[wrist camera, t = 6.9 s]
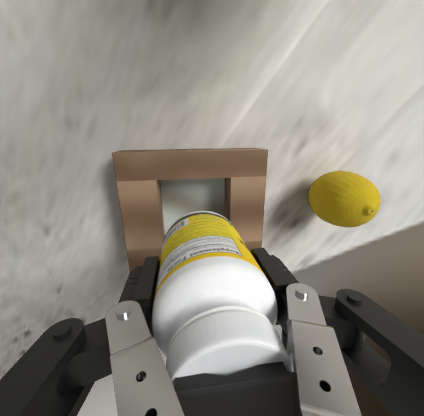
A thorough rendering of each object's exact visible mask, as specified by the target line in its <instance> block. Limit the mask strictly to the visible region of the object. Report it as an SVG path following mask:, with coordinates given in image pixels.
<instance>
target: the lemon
mask: <svg viewBox="0 0 424 416" xmlns="http://www.w3.org/2000/svg"><path fill="white" fill-rule="evenodd" d="M308 199H309V204H310V206H311V208H312V210H313V212H314V213H315V214H316V215H317V216H318V217H320V218H321V219H322V220H324V221H326V222H328V223H330V224H333V225H336V226H342V227H357V226H360V225H363V224H365V223H367V222H368V221H370V220H371V219H372V218H373V217H374V216H375V215H376V214H377V212H378V210H379V207H380V195H379V192H378V190H377V188H376V187H375V185H374V184H373V183H371V182H370V181H369V180H367V179H366V178H364V177H362V176H360V175H358V174H355V173H352V172H346V171H335V172H330V173H326V174H324V175H322V176H321V177H319V178H318V179H317V180H316V181H315V182H314V183H313V184H312V186H311V188H310V191H309V197H308Z"/></svg>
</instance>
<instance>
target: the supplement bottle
mask: <svg viewBox="0 0 424 416" xmlns="http://www.w3.org/2000/svg"><path fill="white" fill-rule="evenodd" d="M276 320H277V301H276V297H275V294H274V291H273V289H272V287H271V285H270V283H269V281H268V279H267V278H266V276H265V275H264V273H263V271H262V270H261V268H260V267H259V265H258V264H257V262H256V260H255V259H254V257H253V256H252V254H251V253H250V251H249V249H248V248H247V246H246V245H245V243H244V242H243V240H242V238H241V237H240V235H239V234H238V232H237V230H236V229H235V228H234V226H233V225H232V224H231V223H230V221H228V220H227V219H226V218H225V217H223V216H222V215H220V214H217V213H214V212H210V211H195V212H191V213H188V214H185V215H183V216H182V217H180V218H179V219H177V220H176V221H175V222H174V223H173V224H172V225H171V226H170V228H169V229H168V231H167V233H166V235H165V238H164V242H163V246H162V253H161V260H160V266H159V272H158V278H157V284H156V290H155V296H154V302H153V312H152V330H153V334H154V337H155V340H156V342H157V345H158V347H159V348H160V350H161V351H162V352H163V353H164V355H166V357H167V360H166V368H167V371H168V374H169V376H170V379H171V381H172V384H173V387H174V388H175V377H177V378H178V377H183V376H189V375H195V374H201V373H208V374H216V375H224V376H234V375H237V374H239V373H241V372H243V371H245V370H247V369H249V368H252V367H254V366H256V365H260V364H267V363H274V362H281V361H283V363H284V365H285V367H286V369H287V371H291V372H293V365H292V362H291V360H290V358H289V356H288V353H287V351H286V349H285V347H284V345H283V343H282V341H281V339H280V336H279V334H278V332H277V331H276V329H275V325H276Z"/></svg>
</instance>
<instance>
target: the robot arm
mask: <svg viewBox="0 0 424 416" xmlns="http://www.w3.org/2000/svg"><path fill="white" fill-rule="evenodd" d="M250 253H251V254H252V256H253V257H254V259H255V260H256V262H257V264H258V265H259V267H260V268H261V270H262V271H263V273H264V275H265V276H266V278H267V279H268V281H269V283H270V285H271V287H272V289H273V291H274V294H275V297H276V301H277V320H276V325H279V324H280V325H281V327H282V335H281V337H282V343H283V345H284V347H285V349H286V351H287V353H288V356H289V358H290V360H291V362H292V365H293V372H291V371H287V369H286V367H285V365H284V363H283V361H281V362H274V363H267V364H260V365H256V366H254V367H252V368H249V369H247V370H245V371H243V372H241V373H239V374H237V375H234V376H224V375H216V374H208V373H201V374H195V375H189V376H183V377H178V378H177V377H175V388H174V387H173V384H172V381H171V379H170V376H169V374H168V371H167V368H166V366H165V363H164V361H163V358H162V355H161V353H160V350H159V347H158V345H157V342H156V340H155V337H154V334H153V330H152V312H153V302H154V296H155V290H156V284H157V278H158V272H159V266H160V259H159V256H152V257H145V260H144V264H143V266H136V267H135V268H134V269H133V270H132V271H131V272H130V274H129V277H128V280H127V282H126V285H125V287H124V290H123V292H122V295H121V298H120V300H119V303H118V304H116V305H114V306H113V307H111V308H110V309H109V310H108V312H107V314H106V317H105V318H103V319H101V320H99V321H96V322H93V323H90V324H87V325H85V326H84V325H83V322H82V321H81V320H80V319H77V318H70V319H66V320H63V321H60V322H58V323H56V324H54V325H53V326H51V327H50V328H49V329H48V330H46V331H45V332H44V334H43V335H42V336H41V337H40V338H39V339H38V340H37V341H36V342H35V343H34V344H33V345H32V346H31V347H30V349H29V350H28V351H27V352H26V353H25V354H24V355H23V356H22V357H21V358H20V359H19V360H18V361H17V363H16V364H15V365H14V366H13V367H12V368H11V369H10V370H9V371H8V372H7V373H6V374H5V375H4V376H3V378H2V379H1V380H0V416H77V414H78V412H79V410H80V408H81V407H82V405H83V403H84V401H85V399H86V397H87V396H88V393H89V392H90V390H91V388H92V386H93V384H94V382H95V381H97V380H99V379H101V378H104V377H106V376H108V375H110V374H112V375H113V383H114V390H115V397H116V404H117V412H118V416H361V413H360V410H359V407H358V403H357V400H356V397H355V394H354V391H353V388H352V384H351V382H350V378H349V375H348V372H347V369H346V366H347V367H348V368H349V369H350V370H351V371H352V372H353V373H354V374H355V375H356V376H357V377H358V379H359V380H360V381H361V382H362V383H363V384H364V385H365V386H366V387H367V388H368V389H369V390H370V391H371V392H372V394H373V395H374V396H375V397H377V399H378V400H379V401H380V402H381V403H382V404H383V405H384V406H385V407H386V409H387V410H388V411H389V412H390V413H391V414H392V415H393V416H424V335H423V334H421V333H420V332H418V331H417V330H415V329H414V328H412V327H411V326H409V325H408V324H406V323H405V322H403V321H402V320H400V319H398V317H396V316H394V315H393V314H392V313H390V312H389V311H387V310H386V309H384V308H383V307H381V306H380V305H378V304H377V303H375V302H374V301H372V300H371V299H370V298H368V297H366V296H365V295H363V294H361V293H359V292H357V291H354V290H349V289H341V290H339V291H338V292H337V294H336V298H333V297H325V296H319V295H317V292H316V291H315V290H314V289H313V288H311V287H309V286H307V285H304V284H300V283H299V282H298V281H297V280H296V279H295V277H294V276H293V275H292V274H291V272H290V271H289V270H288V269H287V267H286V266H284V264H283V263H282V261H281V260H280V259H278V258H277V257H275V256H274V255H269V254H268V253H267V251H266V250H265V249H264V248H254V249H251V251H250ZM366 335H367V336H368V337H370V338H371V339H372V340H373V341H374V342H376V343H377V344H378V345H379V346H380V347H382V348H383V349H384V350H385V351H386V352H387V354H388V355H389V357H390V359H391V364H390V363H389V362H388V361H386V360H385V359H384V358H383V357H382V356H381V355H380V354H378V353H377V352H376V351H375V350H374V349H373V348H372V347H371V346H369V345H368V344H367V343H366V342H365V341H364V339H365V336H366ZM345 365H346V366H345Z"/></svg>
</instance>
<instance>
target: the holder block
mask: <svg viewBox="0 0 424 416" xmlns="http://www.w3.org/2000/svg"><path fill="white" fill-rule="evenodd" d="M112 157H113V163H114V170H115V176H116V183H117V189H118V196H119V202H120V209H121V215H122V222H123V228H124V235H125V242H126V248H127V255H128V261H129V268H130V272H131V271H132V270H133V269H134V268H135V267H136V266H143V264H144V260H145V257H152V256H159V259H160V260H161V253H162V246H163V242H164V238H165V235H166V233H167V231H168V229H169V228H170V226H171V225H172V224H173V223H174V222H175V221H176V220H177V219H179V218H180V217H182V216H183V215H185V214H188V213H191V212H195V211H210V212H214V213H217V214H220V215H222V216H223V217H225V218H226V219H227V220H228V221H230V223H231V224H232V225H233V226H234V228H235V229H236V230H237V232H238V234H239V235H240V237H241V238H242V240H243V242H244V243H245V245H246V246H247V248H248V249H249V251H251V249H254V248H261V245H262V230H263V216H264V201H265V187H266V172H267V157H268V150H266V149H259V148H229V149H176V150H122V151H118V152H114V153H112Z"/></svg>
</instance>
